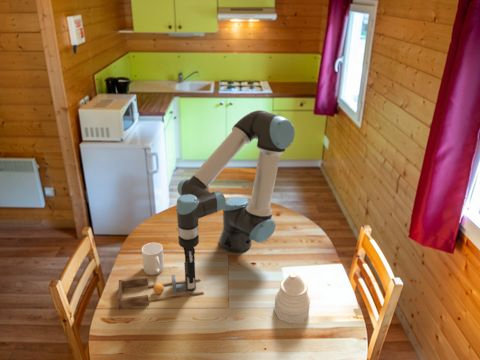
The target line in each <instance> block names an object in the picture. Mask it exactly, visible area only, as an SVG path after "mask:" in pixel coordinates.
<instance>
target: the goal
mask: <svg viewBox="0 0 480 360" xmlns="http://www.w3.org/2000/svg"><path fill="white" fill-rule="evenodd" d="M148 279H149V278H148V276H139V277H133V278H132V277H131V278H125V279H119V280H118V287H117V288H118V290H117V306H118V310H123V309H130V308H136V307H143V306H144V307H145V306H149V305H150V302H149V299H150V297H149V294H145V295H138V296H131V297H124V298H123V290H129V289H134V288H141V287H142V288H143V287H148V286H149V280H148Z"/></svg>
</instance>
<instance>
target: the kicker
mask: <svg viewBox="0 0 480 360" xmlns="http://www.w3.org/2000/svg"><path fill="white" fill-rule="evenodd" d="M183 264H184V279H185V280H184V281H185V283H181V284H176V282H177V281H176V275H175V274H171V282H172V285H171V286H172V294H175V295H177V292H181V291H189V292H192V291H195V289H197V284H196V282H197V281H195V288H192V289H188V282H187V277H186V275H188V272H187V261H186V262H185V261H184V263H183ZM194 266H195V267H196V262H195V261H194ZM194 279H196V277H195V278H194Z"/></svg>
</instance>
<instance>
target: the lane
mask: <svg viewBox="0 0 480 360" xmlns="http://www.w3.org/2000/svg"><path fill="white" fill-rule="evenodd" d="M195 281H196V282H201V278H195ZM175 282H176V285H178V284H185V280H179V281H175ZM161 284H162V285H163V287H165V286H166V287H167V286H172V281H170V282H164V283H161ZM155 285H156V284H151V285H149V284H148V286H147V288H148V289H152V288H154V286H155ZM199 295H204V291H196V292H189V293H183V294H175V295H169V296H163V297H162V296H161V297H156V298H149V303H151V302H158V301H165V300H171V299H178V298H179V299H180V298H185V297H186V298H187V297H192V296H199Z"/></svg>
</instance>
